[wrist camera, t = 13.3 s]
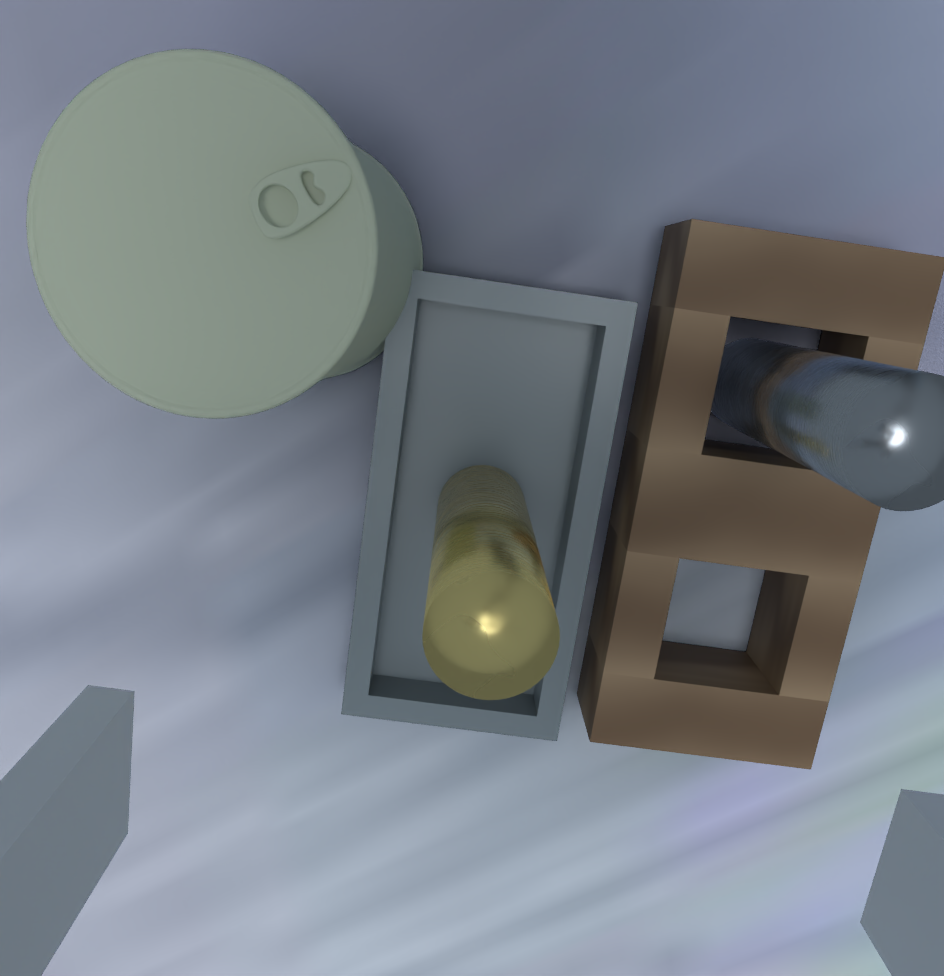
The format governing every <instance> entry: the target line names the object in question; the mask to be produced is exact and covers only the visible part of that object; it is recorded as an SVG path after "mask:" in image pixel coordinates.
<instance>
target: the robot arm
mask: <svg viewBox="0 0 944 976" xmlns="http://www.w3.org/2000/svg"><path fill="white" fill-rule="evenodd" d="M133 712H134V691H129V690H121V689H114V688H106V687H98V686H90V685H88V686H87V687H86V688H85V689H84V690H83V691H82V692H81V694H80V695H79V696H78V697H77V698H76V699H75V700H74V701H73V702H72V703H71V704H70V706H69V707H68V708H67V709H66V710H65V711H64V712H63V713H62V714H61V715H60V716H59V718H58V719H57V720H56V721H55V722H54V723H53V724H52V725H51V726H50V727H49V728H48V730H47V731H46V732H45V733H44V734H43V735H42V736H41V737H40V738H39V739H38V741H37V742H36V743H35V744H34V745H33V746H32V747H31V748H30V749H29V750H28V751H27V753H26V754H25V755H24V756H23V757H22V758H21V759H20V760H19V761H18V762H17V763H16V765H15V766H14V767H13V768H12V769H11V770H10V771H9V772H8V773H7V774H6V775H5V777H4V778H3V779H2V780H1V781H0V976H41V975H42V974H43V972H44V970H45V969H46V967H47V965H48V964H49V962H50V960H51V959H52V957H53V956H54V954H55V952H56V951H57V949H58V947H59V946H60V944H61V942H62V941H63V939H64V937H65V936H66V934H67V932H68V931H69V929H70V927H71V926H72V924H73V923H74V921H75V919H76V918H77V916H78V914H79V913H80V911H81V909H82V908H83V906H84V904H85V903H86V901H87V899H88V898H89V896H90V895H91V893H92V891H93V890H94V888H95V886H96V885H97V883H98V881H99V880H100V878H101V876H102V875H103V873H104V871H105V870H106V868H107V867H108V865H109V863H110V862H111V860H112V858H113V857H114V855H115V853H116V852H117V850H118V848H119V847H120V845H121V843H122V842H123V840H124V839H125V837H126V835H127V834H128V818H129V797H130V776H131V754H132V733H133ZM860 923H861V924H862V926H863V928H864V930H865V931H866V933H867V935H868V936H869V938H870V940H871V941H872V943H873V945H874V946H875V948H876V950H877V951H878V953H879V955H880V957H881V958H882V960H883V962H884V963H885V965H886V967H887V968H888V970H889V972H890V973H891V975H892V976H944V795H943V794H935V793H927V792H920V791H912V790H904V789H901V792H900V795H899V798H898V801H897V805H896V808H895V811H894V814H893V818H892V821H891V824H890V827H889V831H888V834H887V837H886V840H885V843H884V847H883V850H882V853H881V856H880V860H879V863H878V866H877V869H876V873H875V876H874V879H873V882H872V886H871V889H870V892H869V895H868V898H867V902H866V905H865V908H864V911H863V915H862V918H861V921H860Z"/></svg>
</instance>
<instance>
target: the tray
mask: <svg viewBox="0 0 944 976" xmlns="http://www.w3.org/2000/svg"><path fill="white" fill-rule="evenodd" d="M637 306H638V303H637V302H630V301H623V300H617V299H610V298H603V297H596V296H590V295H583V294H576V293H569V292H562V291H556V290H549V289H542V288H535V287H528V286H522V285H515V284H508V283H501V282H495V281H488V280H481V279H474V278H467V277H461V276H454V275H447V274H440V273H434V272H427V271H420V270H413V272H412V279H411V285H410V289H409V293H408V297H407V300H406V303H405V305H404V308H403V310H402V312H401V314H400V316H399V318H398V320H397V322H396V324H395V325H394V327H393V329H392V330H391V331H390V333H389V334H388V335H387V337H386V338H385V346H384V354H383V363H382V371H381V380H380V388H379V397H378V405H377V414H376V422H375V431H374V439H373V448H372V456H371V465H370V473H369V482H368V490H367V499H366V507H365V516H364V524H363V533H362V541H361V550H360V559H359V567H358V576H357V584H356V593H355V601H354V610H353V618H352V627H351V635H350V644H349V652H348V661H347V669H346V678H345V686H344V695H343V703H342V712H341V714H344V715H352V716H360V717H368V718H376V719H384V720H392V721H400V722H408V723H416V724H424V725H432V726H440V727H448V728H456V729H464V730H472V731H480V732H488V733H496V734H504V735H512V736H520V737H528V738H536V739H544V740H552V741H557V738H558V732H559V727H560V721H561V716H562V711H563V705H564V700H565V694H566V689H567V684H568V678H569V673H570V667H571V662H572V657H573V651H574V646H575V640H576V635H577V630H578V624H579V619H580V613H581V608H582V603H583V597H584V592H585V586H586V581H587V576H588V570H589V565H590V559H591V554H592V549H593V543H594V538H595V532H596V527H597V522H598V516H599V511H600V505H601V500H602V495H603V489H604V484H605V478H606V473H607V468H608V462H609V457H610V451H611V446H612V441H613V435H614V430H615V424H616V419H617V414H618V408H619V403H620V397H621V392H622V387H623V381H624V376H625V370H626V365H627V360H628V354H629V349H630V343H631V338H632V333H633V327H634V322H635V316H636V311H637ZM475 465H489V466H493V467H496V468H499V469H501V470H503V471H505V472H507V473H508V474H509V475H511V476H512V477H513V478H514V479H515V480H516V482H517V483H518V484H519V486H520V488H521V490H522V492H523V495H524V498H525V502H526V506H527V509H528V513H529V517H530V520H531V524H532V528H533V531H534V535H535V538H536V542H537V546H538V549H539V553H540V557H541V560H542V564H543V568H544V571H545V575H546V579H547V582H548V586H549V590H550V593H551V597H552V601H553V604H554V608H555V612H556V615H557V619H558V623H559V629H560V641H559V648H558V652H557V655H556V658H555V660H554V663H553V664H552V666H551V668H550V670H549V671H548V672H547V673H546V675H545V676H544V677H543V678H542V679H541V680H540V681H539V682H538V683H537V684H536V685H534V686H533V687H532V688H530V689H528V690H527V691H525V692H523V693H521V694H519V695H516V696H513V697H510V698H506V699H500V700H481V699H476V698H471V697H468V696H465V695H462V694H460V693H458V692H456V691H454V690H453V689H451V688H450V687H448V686H447V685H446V684H445V683H443V682H442V681H441V680H440V679H439V678H438V677H437V676H436V674H435V673H434V671H433V670H432V669H431V667H430V665H429V663H428V661H427V658H426V656H425V653H424V648H423V640H422V634H423V623H424V615H425V607H426V598H427V590H428V582H429V573H430V565H431V557H432V549H433V540H434V532H435V524H436V515H437V507H438V500H439V496H440V493H441V490H442V489H443V487H444V485H445V484H446V482H447V481H448V480H449V479H450V478H451V477H452V476H453V475H454V474H455V473H457V472H459V471H460V470H462V469H464V468H467V467H470V466H475Z"/></svg>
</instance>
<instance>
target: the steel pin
mask: <svg viewBox="0 0 944 976" xmlns="http://www.w3.org/2000/svg"><path fill="white" fill-rule="evenodd" d="M711 411H712V413H713V414H714V415H715V416H716V417H717V418H718V419H720V420H721V421H723V422H724V423H726V424H728V425H730V426H732V427H734V428H735V429H737V430H739V431H741V432H743V433H745V434H746V435H748V436H750V437H752V438H754V439H756V440H757V441H759V442H761V443H763V444H765V445H767V446H768V447H770V448H772V449H774V450H776V451H778V452H779V453H781V454H783V455H785V456H787V457H789V458H790V459H792V460H794V461H796V462H798V463H800V464H801V465H803V466H805V467H807V468H809V469H811V470H812V471H814V472H816V473H818V474H820V475H822V476H823V477H825V478H827V479H829V480H831V481H833V482H834V483H836V484H838V485H840V486H842V487H844V488H845V489H847V490H849V491H851V492H853V493H855V494H856V495H858V496H860V497H862V498H864V499H866V500H867V501H869V502H871V503H873V504H875V505H877V506H880V507H882V508H885V509H890V510H894V511H913V510H919V509H923V508H926V507H930V506H932V505H934V504H937V503H939V502H941V501H942V500H944V376H941V375H937V374H933V373H928V372H923V371H918V370H913V369H908V368H903V367H898V366H893V365H888V364H882V363H877V362H872V361H867V360H862V359H857V358H852V357H847V356H842V355H837V354H832V353H827V352H822V351H817V350H812V349H807V348H802V347H797V346H792V345H786V344H781V343H776V342H771V341H766V340H761V339H754V338H748V339H741V340H737V341H734V342H732V343H730V344H728V345H726V346H725V347H724V350H723V355H722V359H721V364H720V369H719V373H718V378H717V383H716V388H715V392H714V397H713V402H712V407H711Z"/></svg>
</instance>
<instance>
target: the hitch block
mask: <svg viewBox="0 0 944 976" xmlns="http://www.w3.org/2000/svg"><path fill="white" fill-rule="evenodd" d="M943 271H944V257H939V256H932V255H926V254H919V253H913V252H906V251H900V250H893V249H886V248H880V247H873V246H867V245H860V244H854V243H847V242H840V241H834V240H827V239H821V238H814V237H808V236H801V235H794V234H788V233H781V232H775V231H768V230H762V229H755V228H748V227H742V226H735V225H729V224H722V223H716V222H709V221H702V220H696V219H690V220H686V221H683V222H679V223H675V224H671V225H668V226H665V230H664V235H663V240H662V245H661V251H660V256H659V261H658V267H657V272H656V277H655V283H654V288H653V293H652V298H651V304H650V309H649V314H648V320H647V325H646V330H645V336H644V341H643V346H642V351H641V357H640V362H639V367H638V373H637V378H636V383H635V389H634V394H633V399H632V404H631V410H630V415H629V420H628V426H627V431H626V436H625V442H624V447H623V452H622V457H621V463H620V468H619V473H618V479H617V484H616V489H615V495H614V500H613V505H612V510H611V516H610V521H609V526H608V532H607V537H606V542H605V548H604V553H603V558H602V563H601V569H600V574H599V579H598V585H597V590H596V595H595V601H594V606H593V611H592V616H591V622H590V627H589V632H588V638H587V643H586V648H585V654H584V659H583V664H582V669H581V675H580V680H579V685H578V691H577V696H578V700H579V704H580V707H581V711H582V715H583V718H584V722H585V726H586V729H587V733H588V737H589V740H590V742H596V743H604V744H612V745H620V746H628V747H636V748H644V749H652V750H660V751H668V752H676V753H684V754H692V755H700V756H708V757H716V758H724V759H732V760H740V761H748V762H756V763H764V764H772V765H780V766H788V767H796V768H804V769H811V767H812V763H813V759H814V755H815V752H816V748H817V744H818V740H819V737H820V733H821V729H822V725H823V722H824V718H825V714H826V710H827V707H828V703H829V699H830V695H831V692H832V688H833V684H834V680H835V677H836V673H837V669H838V665H839V662H840V658H841V654H842V650H843V647H844V643H845V639H846V635H847V632H848V628H849V624H850V620H851V617H852V613H853V609H854V605H855V602H856V598H857V594H858V590H859V586H860V583H861V579H862V575H863V571H864V568H865V564H866V560H867V556H868V553H869V549H870V545H871V541H872V538H873V534H874V530H875V526H876V523H877V519H878V515H879V511H880V508H881V507H880V506H877V505H875V504H873V503H871V502H869V501H867V500H866V499H864V498H862V497H860V496H858V495H856V494H855V493H853V492H851V491H849V490H847V489H845V488H844V487H842V486H840V485H838V484H836V483H834V482H833V481H831V480H829V479H827V478H825V477H823V476H822V475H820V474H818V473H816V472H814V471H812V470H811V469H809V468H807V467H805V466H803V465H801V464H800V463H798V462H796V461H794V460H792V459H790V458H789V457H787V456H785V455H783V454H781V453H779V452H778V451H776V450H774V449H769V448H762V447H755V446H748V445H741V444H734V443H726V442H719V441H712V440H705V435H706V430H707V426H708V421H709V416H710V411H711V407H712V402H713V397H714V392H715V388H716V383H717V378H718V373H719V369H720V364H721V359H722V355H723V350H724V345H725V340H726V336H727V331H728V326H729V321H730V317H737V318H744V319H751V320H757V321H764V322H771V323H778V324H784V325H791V326H798V327H805V328H812V329H818V330H822V335H821V339H820V343H819V347H818V351H822V352H827V353H832V354H837V355H842V356H847V357H852V358H857V359H862V360H867V361H872V362H877V363H882V364H888V365H893V366H898V367H903V368H908V369H913V370H917V369H918V365H919V361H920V357H921V354H922V350H923V346H924V342H925V339H926V335H927V331H928V327H929V324H930V320H931V316H932V312H933V309H934V305H935V301H936V297H937V294H938V290H939V286H940V282H941V279H942V275H943ZM679 558H682V559H689V560H697V561H704V562H711V563H719V564H726V565H734V566H741V567H748V568H756V569H763V570H765V575H764V579H763V583H762V587H761V592H760V596H759V600H758V604H757V608H756V613H755V617H754V621H753V625H752V629H751V634H750V638H749V642H748V646H747V651H746V652H743V651H735V650H728V649H720V648H712V647H705V646H697V645H689V644H682V643H674V642H666V641H662V639H663V634H664V629H665V624H666V620H667V615H668V610H669V605H670V601H671V596H672V591H673V586H674V582H675V577H676V572H677V568H678V563H679Z"/></svg>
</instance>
